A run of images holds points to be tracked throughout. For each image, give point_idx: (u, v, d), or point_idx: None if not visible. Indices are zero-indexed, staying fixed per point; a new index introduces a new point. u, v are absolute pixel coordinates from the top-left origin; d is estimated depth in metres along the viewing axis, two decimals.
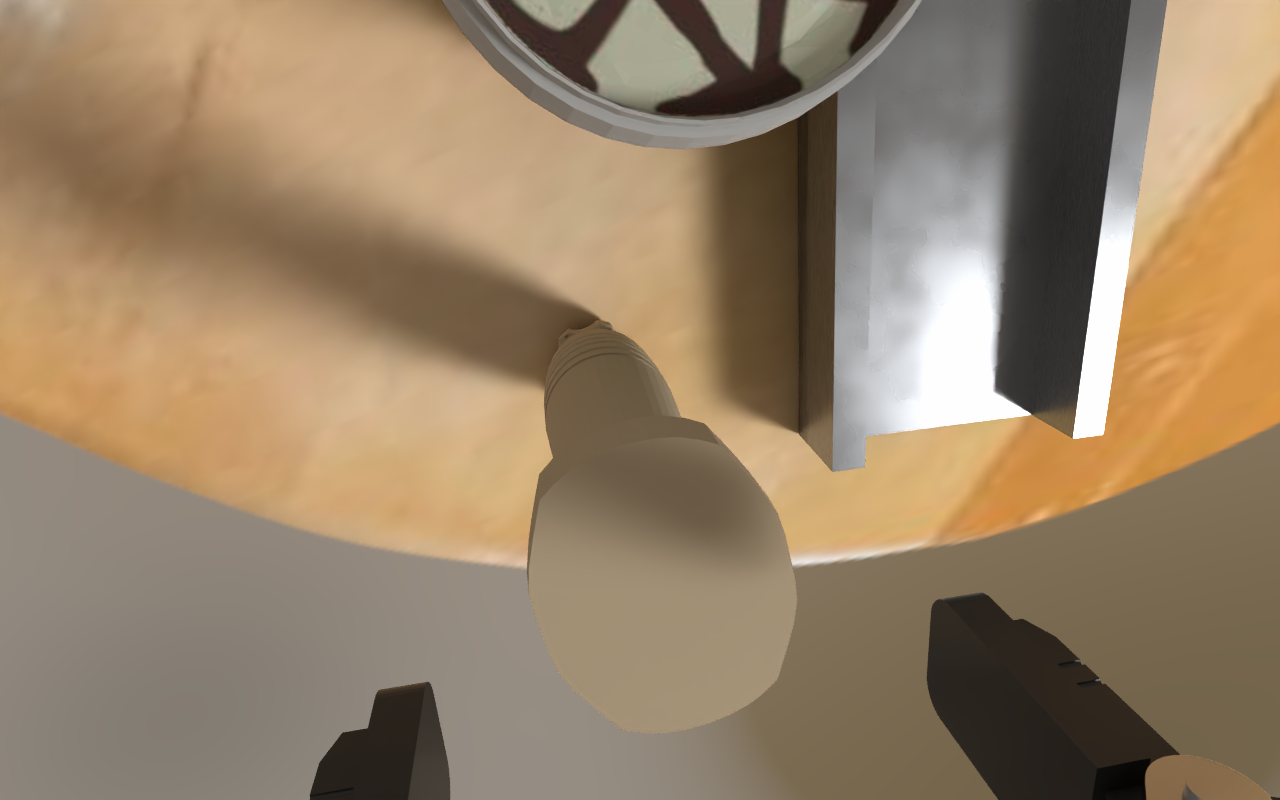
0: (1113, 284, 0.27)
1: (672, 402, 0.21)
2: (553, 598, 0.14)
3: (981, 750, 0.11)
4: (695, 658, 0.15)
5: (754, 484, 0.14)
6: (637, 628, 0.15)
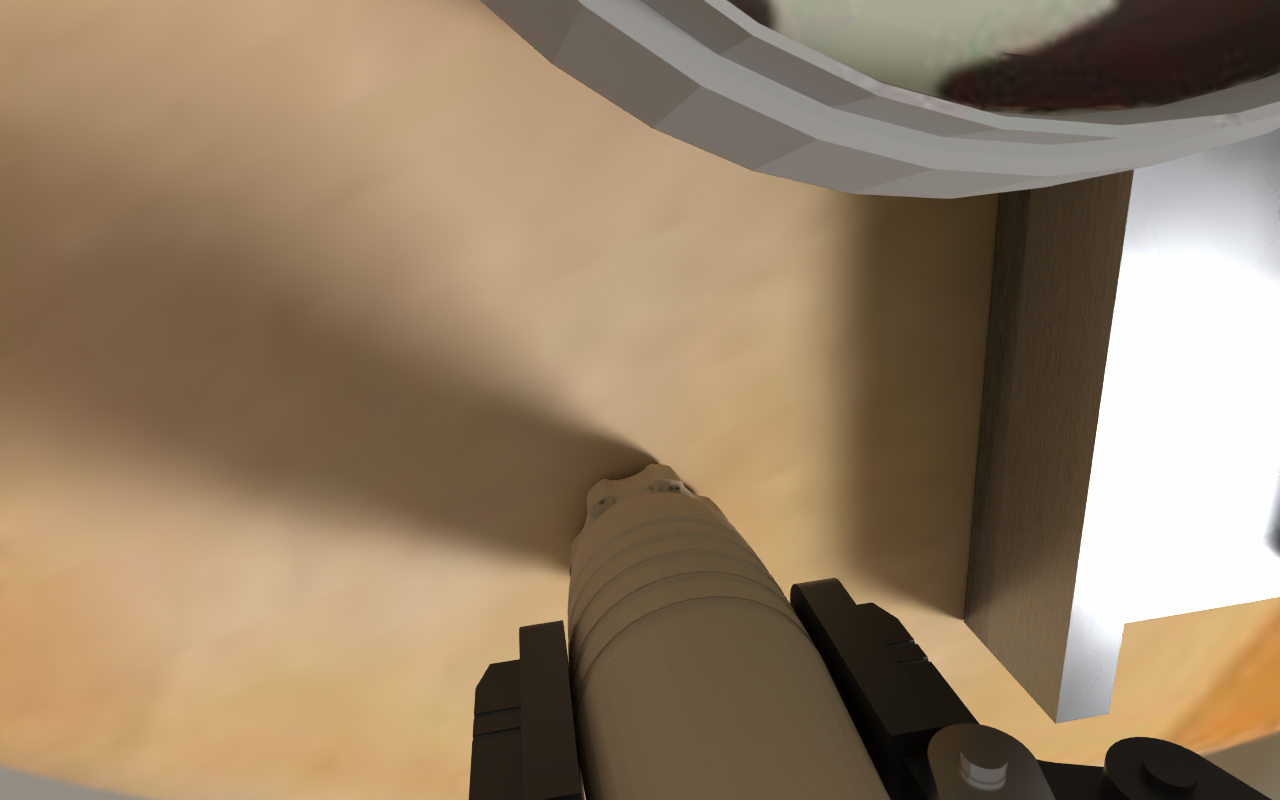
0: None
1: (858, 739, 0.10)
2: None
3: None
4: None
5: None
6: None
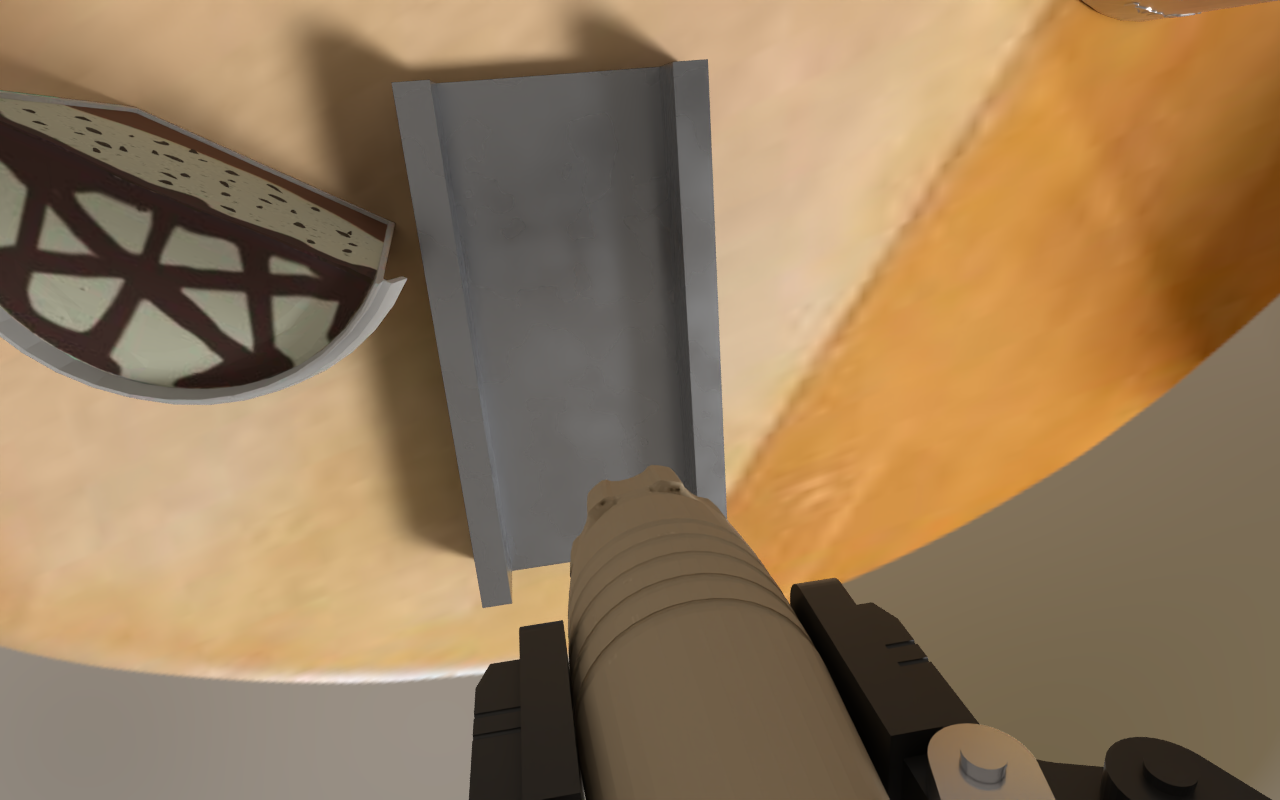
0: (713, 450, 0.31)
1: (859, 742, 0.10)
2: None
3: None
4: None
5: None
6: None
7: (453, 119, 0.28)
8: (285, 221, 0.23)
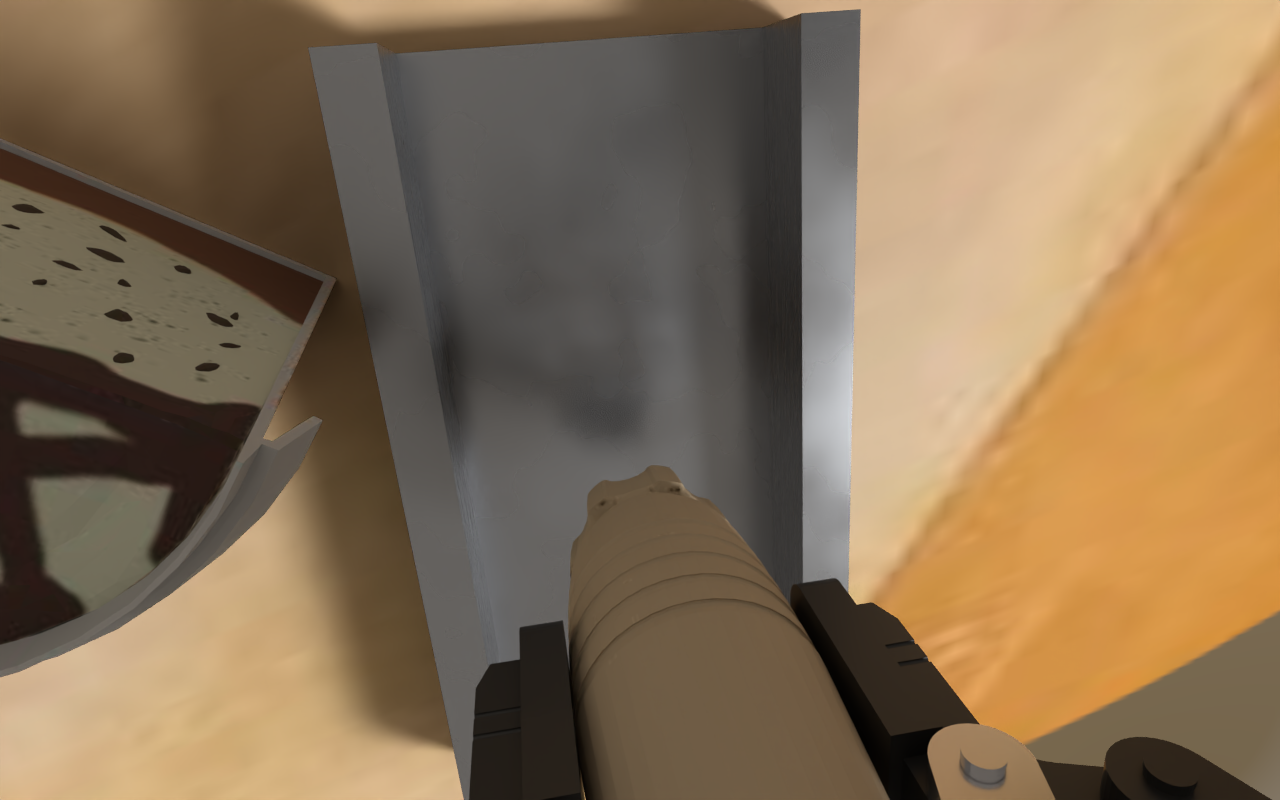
0: None
1: (859, 742, 0.10)
2: None
3: None
4: None
5: None
6: None
7: (425, 113, 0.17)
8: (87, 310, 0.12)
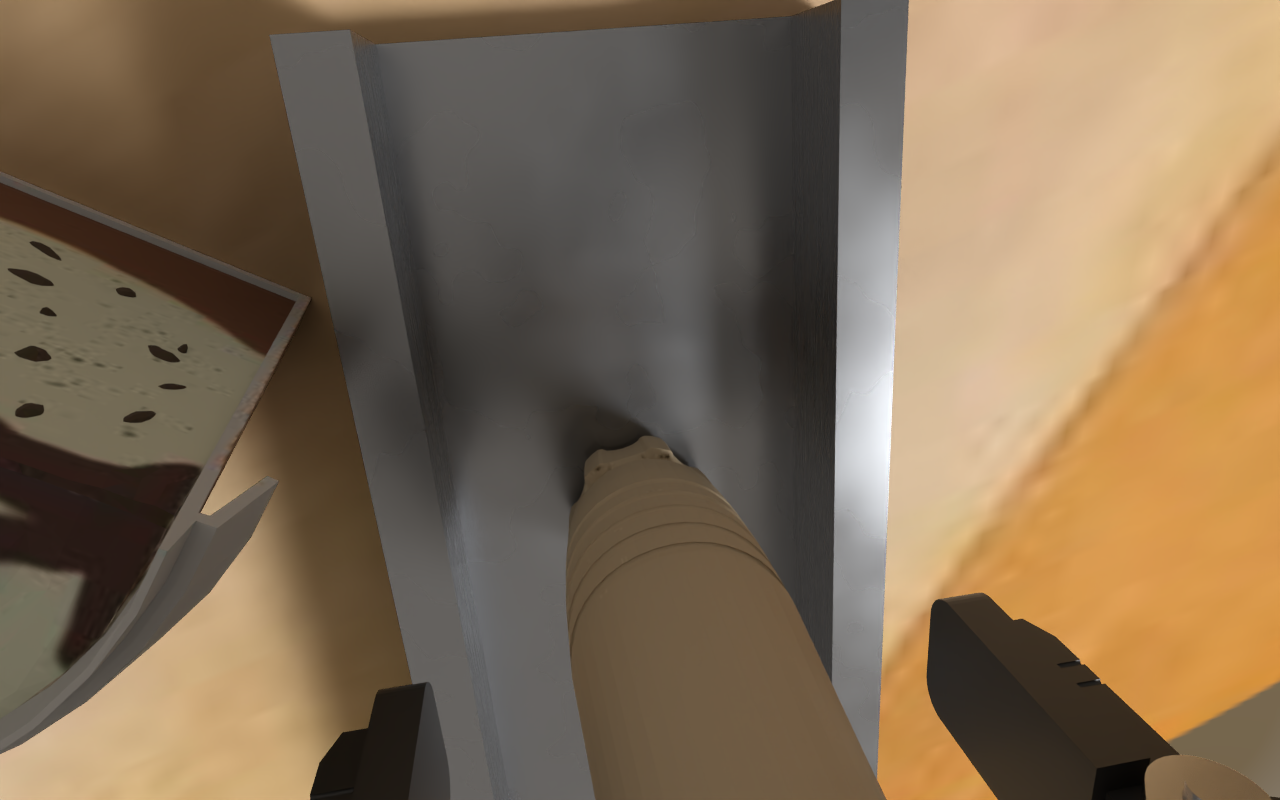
0: (862, 681, 0.18)
1: (818, 660, 0.11)
2: None
3: (981, 750, 0.11)
4: None
5: None
6: None
7: (409, 113, 0.15)
8: None
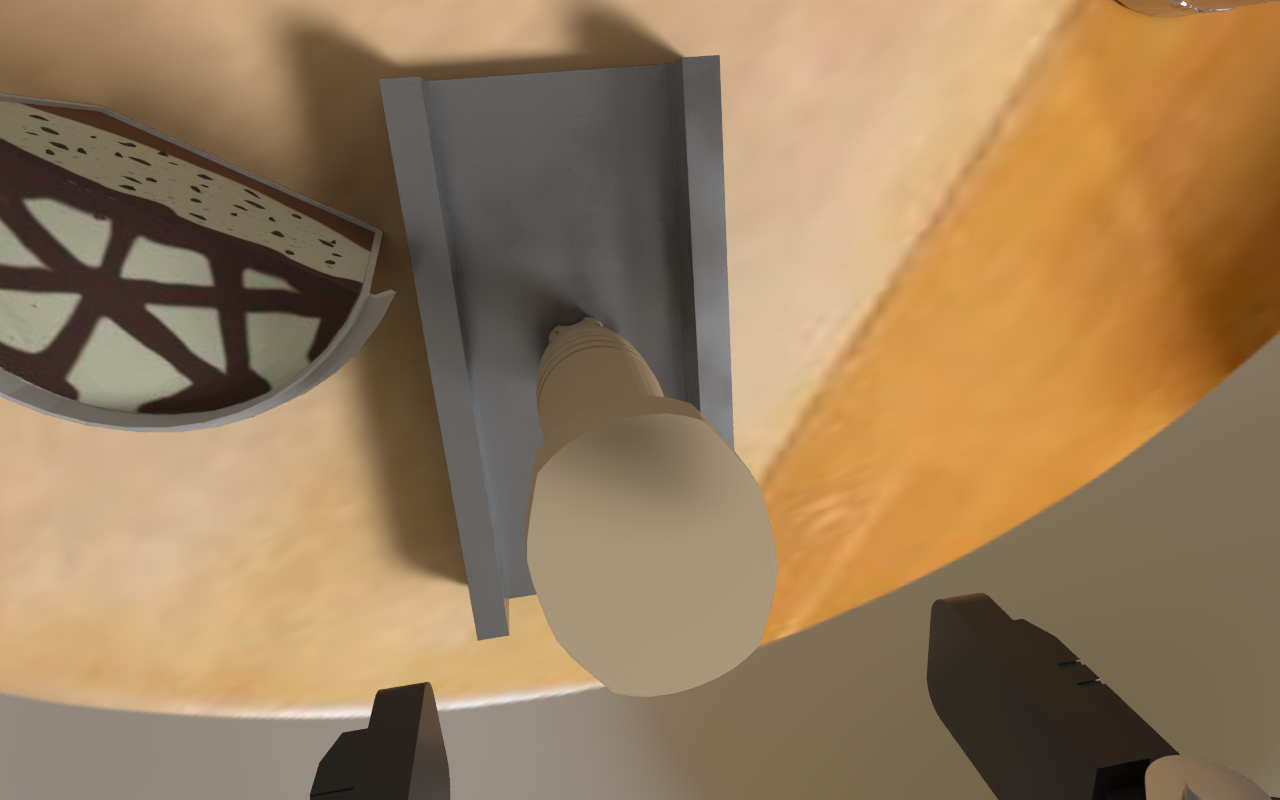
0: None
1: (659, 391, 0.22)
2: (550, 566, 0.15)
3: (981, 750, 0.11)
4: (683, 624, 0.16)
5: (737, 458, 0.15)
6: (628, 596, 0.16)
7: (445, 119, 0.26)
8: (262, 230, 0.21)
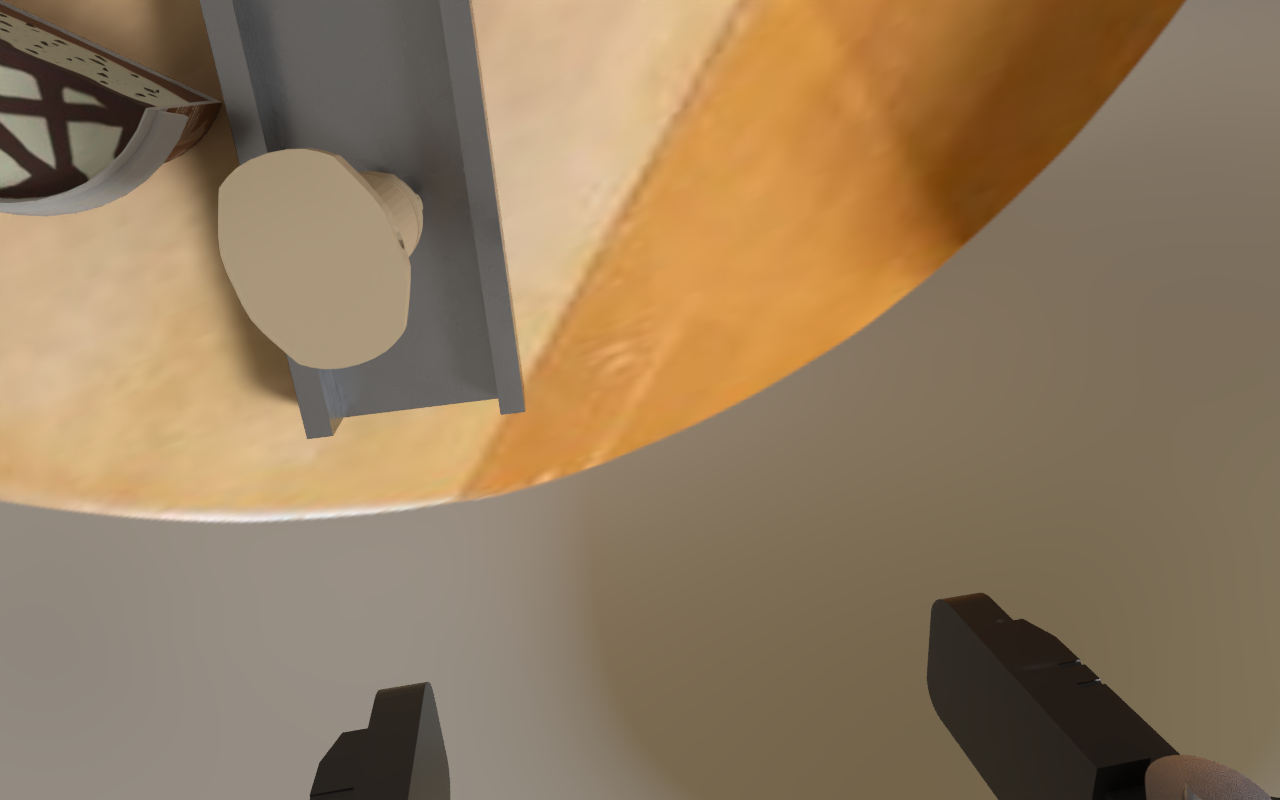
0: (500, 300, 0.36)
1: (396, 200, 0.29)
2: (237, 260, 0.22)
3: (981, 750, 0.11)
4: (342, 313, 0.23)
5: (362, 186, 0.22)
6: (298, 287, 0.23)
7: (261, 8, 0.33)
8: (89, 70, 0.28)
